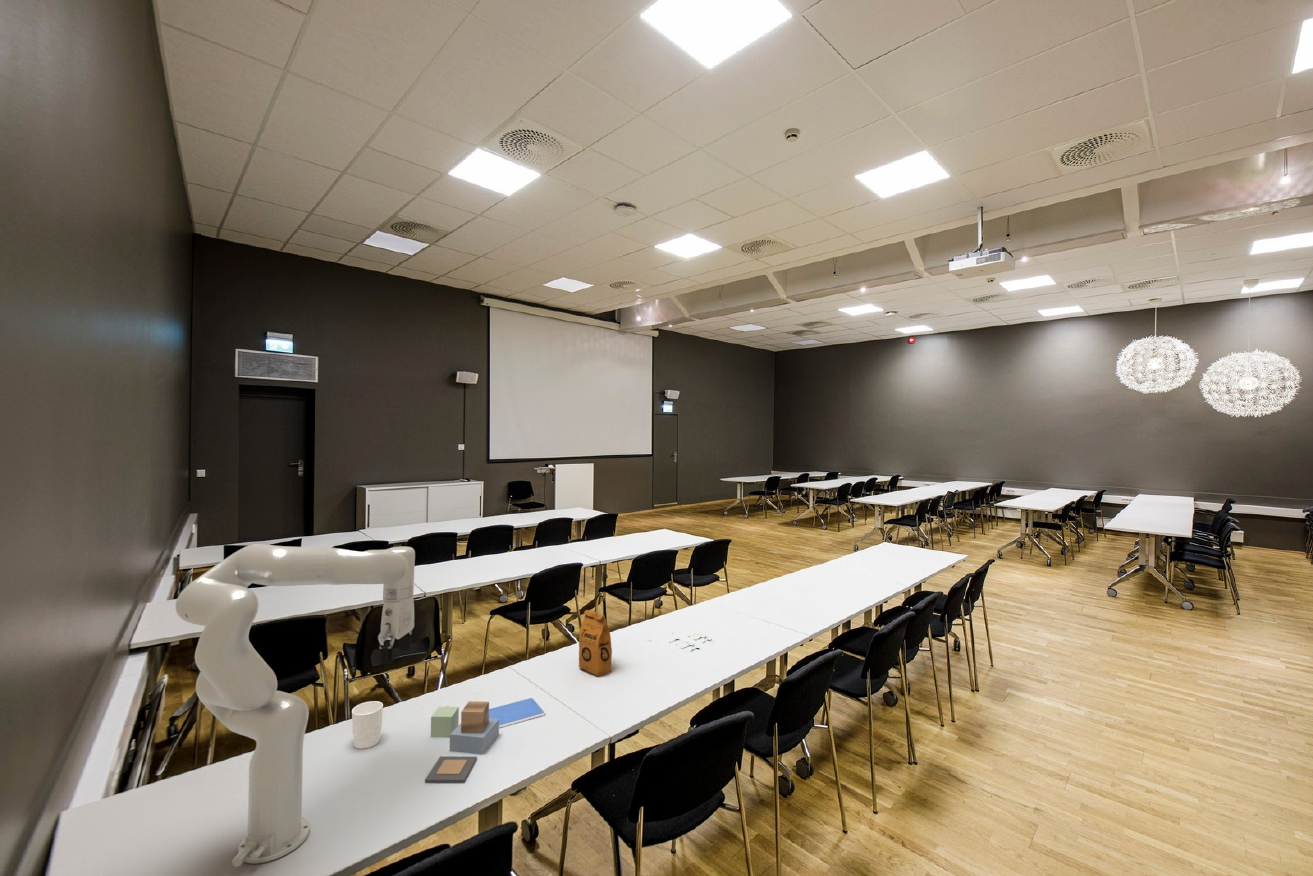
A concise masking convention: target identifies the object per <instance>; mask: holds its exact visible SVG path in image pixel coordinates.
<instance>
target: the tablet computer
mask: <svg viewBox="0 0 1313 876" xmlns="http://www.w3.org/2000/svg"><path fill="white" fill-rule="evenodd" d="M545 715H546V712H545V710H543V708H542V707H541V706H540V704H539V703H538V702H537V701H536V700H535V698H534V697H529V698H526V699H522V700H518V701H515V702H511V703H507V704H503V705H499V706H495V707H491V708H489V718H491V719H499V729H502V728H505V727H507V726H508V727H509V726H512V725H515V724H518V723H523V722H526V721H528V720H532V719H533V720H534V719H536V718H540V717H543V716H545Z"/></svg>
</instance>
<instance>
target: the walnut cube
mask: <svg viewBox="0 0 1313 876" xmlns="http://www.w3.org/2000/svg"><path fill="white" fill-rule="evenodd" d="M489 709H490V701H473V700H472V701H470V700H469V701H468V702H467V703H466V705H465V706H464V707H463V709H462V710H461V711H460V712H461V713H460V715H461V717H460V723H461V733H483V731H484V729H485V728H486V726H487V724H488V723H489Z"/></svg>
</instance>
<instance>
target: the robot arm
mask: <svg viewBox="0 0 1313 876" xmlns="http://www.w3.org/2000/svg"><path fill="white" fill-rule="evenodd" d="M415 561H416V551H415V549H414V548H413V547H411V546H392V547H390V548H386V549H368V550H365V551H357V550H350V549H347V548H346V549H345V548H338V547H337V548H336V547H326V546H325V547H324V546H323V547H319V546H315V547H314V546H289V545H288V546H287V545H286V546H282V545H275V544H274V545H271V544H263V543H254V544H249V545H246V546H243V548H242V547H241V548H240V549H238V550H237V551H235V552H233V553H232V554H230V555H229V556H227V557H226V558H225V559H223V560H222V561H220V562H219V563H217V564H215V566H213V567H211V568H210V569H209V570H207V571H205V572H204V573H202V574H201V575H200V576H199V577H197V578H195V579H194V580H193V581H192V582H190V583H189V584H187V586H186V587H185V588H183V589H182V590H181V591H180V593H179V595H178V597H177V599H176V601H175V611H176V614H177V616H178V617H179V618H180V619H182V621H185V622H187V623H191V624H193V625H194V624H195V625H197V626H198V625H199V626H202V627H204V628H203V630H202V633H201V635H200V636H199V639H198V642H197V645H196V648H195V652H194V661H195V665H196V667H197V668H198V670H199V671H200V672H199V674H198V676H197V679H196V683H195V691H196V692H195V693H196V695H197V697H198V699H199V701H200V703H202V704H203V705H204V706H205V708H206V709H207V710H208V711H210V713H211V714H212V715H214V717H215V718H216V719H217V720H218V721H219V722H220V723H221V724H222V725H223V726H224V728H226V729H228V731H231V732H233V733H234V734H237V735H240V736H244V737H246V738H250V739H252V740H254V741H255V743H256V747H255V749H254V752H253V754H252V755H251V758H250V760H249V767H248V797H247V798H248V803H247V804H248V808H247V810H248V811H247V813H248V815H247V835H246V836H245V837H243V839H242V841H240V842H239V845H238V849H237V852H238V853H237V854H236V855H235V856H234V857H233V858H232V860H231V864H232V866H233V867H240V866H241V865H242V864H243V863H247V864H263V863H267V862H271V861H274V860H276V859H280V858H281V857H284V856H286V855H287V854H289V853H291V852H293V851H294V850H295V849H297V848H299V847H300V846H301V845H302V844H303V843H304V842H305V841H306V839H307V837H308V836H309V834H310V830H311V824H310V821H309V820H308V819H307V818H305V817H303V816H302V815H303V814H302V812H303V770H304V769H303V767H304V766H303V765H304V764H303V759H304V756H303V753H304V740H305V734H306V731H307V730H306V729H307V725H308V721H309V706H308V704H307V703H306V702H305V700H304V699H303V698H301V697H300V696H298V695H295V694H293V693H288V692H285V691H281V690H277V689H278V680H277V675H276V674H275V672H274V670H273V669H272V668H271V666H269V664H267V662H266V661H265V660H264V658H263V657H262V656H261V655H260V654H259V653H258V652H257V650H256V649H255V648H254V645H252V643H251V641H250V638H249V635H250V630H251V628H252V625H253V624H254V620H255V619H256V617H257V614H258V611H259V599H258V597H257V594H256V592H254V591H253V590H252V589H251V588H248V587H249V586H250V585H252V584H256V585H261V586H262V585H263V586H268V587H292V586H293V587H294V586H295V587H296V586H318V585H329V586H330V585H332V586H333V585H334V586H338V585H344V586H345V585H383V586H382V587H383V588H382V601H383V607H382V612H381V622H380V632H379V634H378V635H377V640H378V645H379V649H380V651H379V653H380V654H379V663H380V664H381V665H382V664H386V665H387V664H388V665H390V664H391V665H392V664H393V663H394V647H393V645H394V643H395V639H396V640H398V648H397V649H398V651H410V650H411V645H412V641H411V640H412V634H413V629H414V628H415V602H414V601H415V600H414V590H415V589H414V586H415V584H414V582H415V564H416V562H415ZM388 640H389V641H388Z"/></svg>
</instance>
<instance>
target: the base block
mask: <svg viewBox="0 0 1313 876" xmlns="http://www.w3.org/2000/svg"><path fill="white" fill-rule="evenodd" d="M499 736H500V728H499V719H491V718H489V723H488V724H487V726H486V728H485V729H484V731H483V733H461V722H460V723H458V727H457V728H456V729H455V730H454V731H453V732H452V733H451V734H450V737H449V752H454V753H456V752H457V753H465V754H472V755H473V754H474V755H475V754H476V755H484V754H485V753H486V752H487V750H488V749H489V748H490V746H491V745H492V744H493V743H494V742H495V740H496V739H497V738H498V737H499Z"/></svg>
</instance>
